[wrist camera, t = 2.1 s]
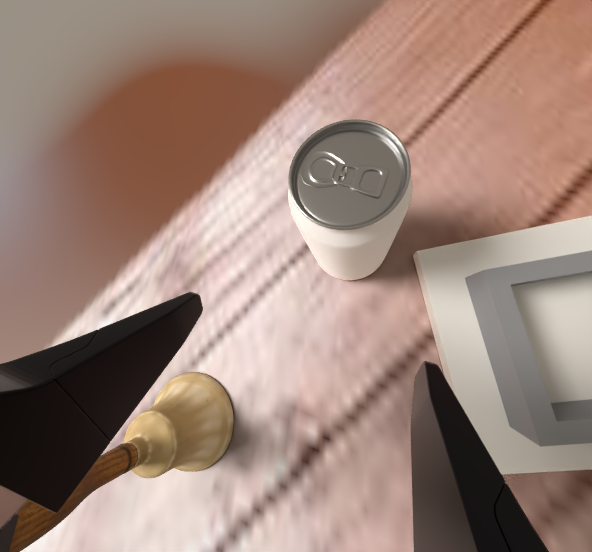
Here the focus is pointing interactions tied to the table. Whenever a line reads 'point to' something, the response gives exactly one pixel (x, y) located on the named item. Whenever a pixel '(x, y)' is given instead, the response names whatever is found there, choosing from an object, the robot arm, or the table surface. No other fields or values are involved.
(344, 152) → the can
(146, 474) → the hand bell
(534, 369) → the socket board
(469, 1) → the table surface
